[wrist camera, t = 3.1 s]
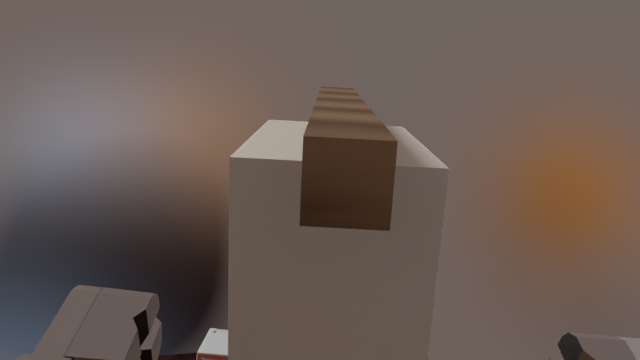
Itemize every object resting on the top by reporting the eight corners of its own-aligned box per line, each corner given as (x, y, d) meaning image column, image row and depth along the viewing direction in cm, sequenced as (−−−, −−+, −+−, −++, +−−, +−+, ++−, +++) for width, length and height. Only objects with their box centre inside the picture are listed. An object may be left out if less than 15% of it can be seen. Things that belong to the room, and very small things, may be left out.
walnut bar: (389, 230, 16) (398, 141, 16) (299, 225, 16) (302, 136, 16) (351, 120, 48) (353, 88, 47) (319, 118, 48) (321, 86, 47)
